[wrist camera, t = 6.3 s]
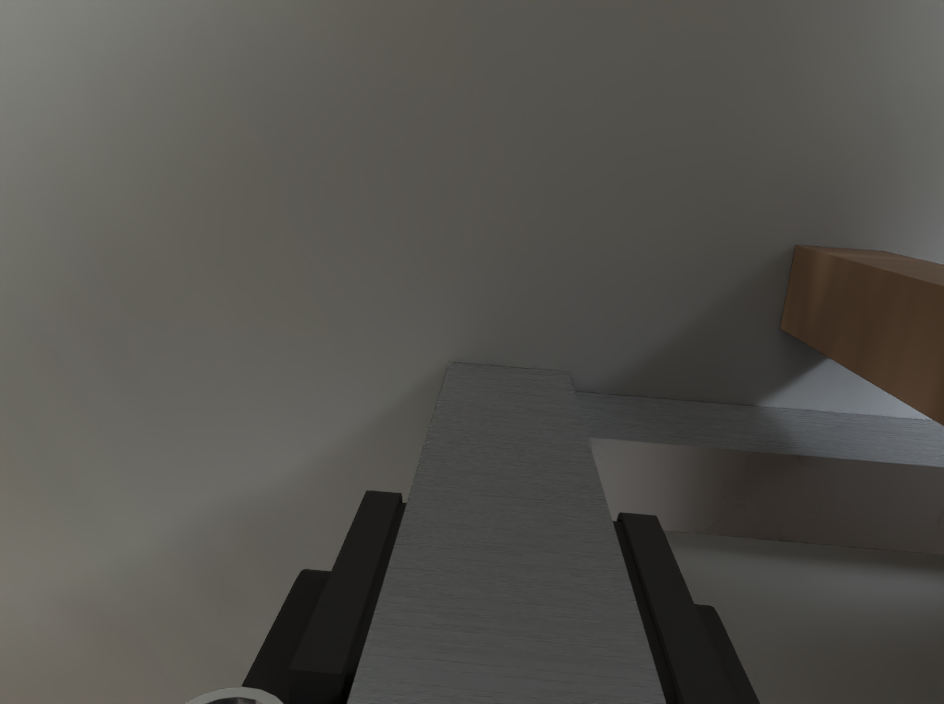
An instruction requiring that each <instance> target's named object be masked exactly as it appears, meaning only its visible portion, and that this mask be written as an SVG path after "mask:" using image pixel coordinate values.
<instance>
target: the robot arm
mask: <svg viewBox="0 0 944 704" xmlns="http://www.w3.org/2000/svg"><path fill="white" fill-rule="evenodd" d="M406 504H407V503H402V494H401V493H391V492H380V491H366V493H365V495H364V497H363V500H362V502H361V504H360V506H359V509H358V511H357V513H356V516H355V518H354V520H353V523H352V525H351V527H350V530H349V532H348V534H347V536H346V539H345V541H344V543H343V546H342V548H341V550H340V553H339V555H338V557H337V559H336V562H335V564H334V566H333V569H332V571H320V570H309V569H304V570H302V571H301V572H300V574H299V575H298V577H297V579H296V581H295V583H294V585H293V586H292V588H291V590H290V592H289V594H288V596H287V598H286V600H285V602H284V604H283V606H282V608H281V610H280V612H279V614H278V616H277V618H276V620H275V622H274V624H273V626H272V628H271V630H270V632H269V633H268V635H267V637H266V639H265V641H264V643H263V645H262V647H261V649H260V651H259V653H258V655H257V657H256V659H255V661H254V663H253V665H252V667H251V669H250V671H249V673H248V675H247V677H246V679H245V680H244V682H243V684H242V686H241V687H234V688H222V689H218V690H215V691H212V692H209V693H205V694H202V695H199V696H198V697H196V698H194V699H192V700H190V701H188V702H186V703H185V704H347V702H348V699H349V695H350V692H351V689H352V685H353V682H354V679H355V675H356V672H357V668H358V665H359V662H360V658H361V655H362V652H363V648H364V645H365V642H366V638H367V635H368V632H369V628H370V625H371V622H372V618H373V615H374V612H375V608H376V605H377V602H378V598H379V595H380V591H381V588H382V585H383V581H384V578H385V575H386V571H387V568H388V565H389V561H390V558H391V555H392V551H393V548H394V545H395V541H396V538H397V535H398V531H399V528H400V525H401V521H402V518H403V514H404V511H405V508H406ZM613 524H614V528H615V531H616V535H617V538H618V541H619V545H620V548H621V552H622V555H623V558H624V562H625V565H626V569H627V572H628V575H629V579H630V582H631V586H632V589H633V592H634V596H635V599H636V603H637V606H638V609H639V613H640V616H641V620H642V623H643V626H644V630H645V633H646V637H647V640H648V643H649V647H650V650H651V654H652V657H653V660H654V664H655V667H656V671H657V674H658V677H659V681H660V684H661V688H662V691H663V694H664V698H665V701H666V704H760V703H759V701H758V699H757V697H756V694H755V692H754V690H753V688H752V686H751V684H750V682H749V679H748V677H747V675H746V673H745V671H744V669H743V667H742V664H741V662H740V660H739V658H738V656H737V654H736V652H735V649H734V647H733V645H732V643H731V641H730V639H729V637H728V634H727V632H726V630H725V628H724V626H723V624H722V622H721V619H720V617H719V615H718V613H717V612H716V610H715V609H714V608H713V607H711V606H708V605H697V604H694V603H693V600H692V598H691V595H690V593H689V591H688V588H687V586H686V584H685V581H684V579H683V577H682V574H681V572H680V569H679V567H678V565H677V562H676V560H675V558H674V555H673V553H672V551H671V548H670V546H669V543H668V541H667V539H666V536H665V534H664V532H663V529H662V527H661V525H660V522H659V520H658V518H657V516H656V515H646V514H634V513H623V512H620V513H619V514H618V517H617V521H613Z"/></svg>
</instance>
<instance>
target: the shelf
mask: <svg viewBox="0 0 944 704" xmlns="http://www.w3.org/2000/svg"><path fill="white" fill-rule="evenodd" d="M780 329H782V330H784V331H785V332H787V333H789V334H790V335H792V336H794V337H795V338H797V339H799V340H800V341H802V342H804V343H805V344H807V345H809V346H810V347H812V348H814V349H815V350H817V351H819V352H820V353H822V354H824V355H825V356H827V357H829V358H830V359H832V360H834V361H835V362H837V363H839V364H840V365H842V366H844V367H845V368H847V369H849V370H851V371H852V372H854V373H856V374H857V375H859V376H861V377H862V378H864V379H866V380H867V381H869V382H871V383H872V384H874V385H876V386H877V387H879V388H881V389H882V390H884V391H886V392H887V393H889V394H891V395H892V396H894V397H896V398H897V399H899V400H901V401H902V402H904V403H906V404H907V405H909V406H911V407H912V408H914V409H916V410H917V411H919V412H921V413H922V414H924V415H926V416H928V417H929V418H931V419H933V420H934V421H936V422H938V423H939V424H941V425H943V426H944V265H941V264H937V263H933V262H928V261H924V260H919V259H915V258H911V257H906V256H902V255H897V254H893V253H889V252H884V251H873V250H858V249H844V248H829V247H814V246H799V245H796V246H795V252H794V257H793V262H792V268H791V273H790V278H789V284H788V289H787V294H786V299H785V305H784V310H783V315H782V321H781V326H780Z"/></svg>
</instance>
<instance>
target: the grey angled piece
mask: <svg viewBox="0 0 944 704" xmlns="http://www.w3.org/2000/svg"><path fill="white" fill-rule="evenodd" d="M620 512H623V513H634V514H646V515H656V516H657V518H658V520H659V522H660V525H661V527H662V529H663V531H674V532H686V533H697V534H709V535H720V536H732V537H743V538H755V539H766V540H778V541H789V542H801V543H812V544H823V545H835V546H846V547H858V548H869V549H881V550H892V551H904V552H915V553H927V554H938V555H944V426H943V425H941V424H939V423H938V422H936V421H931V420H919V419H907V418H894V417H882V416H870V415H857V414H845V413H833V412H820V411H808V410H796V409H784V408H771V407H759V406H747V405H734V404H722V403H710V402H697V401H685V400H673V399H660V398H648V397H636V396H623V395H611V394H599V393H586V392H574V389H573V385H572V382H571V378H570V375H569V372H563V371H551V370H538V369H526V368H513V367H501V366H489V365H476V364H464V363H451V362H449V364H448V367H447V370H446V374H445V377H444V381H443V384H442V387H441V391H440V394H439V397H438V401H437V404H436V407H435V411H434V414H433V417H432V421H431V424H430V427H429V431H428V434H427V437H426V441H425V444H424V447H423V451H422V454H421V458H420V461H419V464H418V468H417V471H416V474H415V478H414V481H413V484H412V488H411V491H410V494H409V498H408V501H407V504H406V508H405V511H404V514H403V518H402V521H401V525H400V528H399V531H398V535H397V538H396V541H395V545H394V548H393V551H392V555H391V558H390V561H389V565H388V568H387V571H386V575H385V578H384V581H383V585H382V588H381V591H380V595H379V598H378V602H377V605H376V608H375V612H374V615H373V618H372V622H371V625H370V628H369V632H368V635H367V638H366V642H365V645H364V648H363V652H362V655H361V658H360V662H359V665H358V668H357V672H356V675H355V679H354V682H353V685H352V689H351V692H350V695H349V699H348V702H347V704H666V701H665V698H664V694H663V691H662V688H661V684H660V681H659V677H658V674H657V671H656V667H655V664H654V660H653V657H652V654H651V650H650V647H649V643H648V640H647V637H646V633H645V630H644V626H643V623H642V620H641V616H640V613H639V609H638V606H637V603H636V599H635V596H634V592H633V589H632V586H631V582H630V579H629V575H628V572H627V569H626V565H625V562H624V558H623V555H622V552H621V548H620V545H619V541H618V538H617V535H616V531H615V528H614V524H613V521H617V517H618V514H619V513H620Z"/></svg>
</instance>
